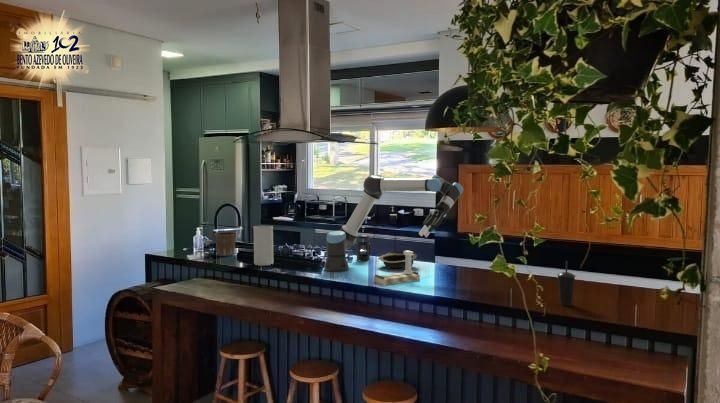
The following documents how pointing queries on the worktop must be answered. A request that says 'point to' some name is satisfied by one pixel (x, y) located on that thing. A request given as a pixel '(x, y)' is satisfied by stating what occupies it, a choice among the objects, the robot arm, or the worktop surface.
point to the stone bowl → (395, 259)
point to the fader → (408, 262)
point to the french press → (363, 256)
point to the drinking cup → (566, 287)
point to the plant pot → (225, 243)
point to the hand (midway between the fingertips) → (422, 235)
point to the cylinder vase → (263, 245)
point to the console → (396, 278)
